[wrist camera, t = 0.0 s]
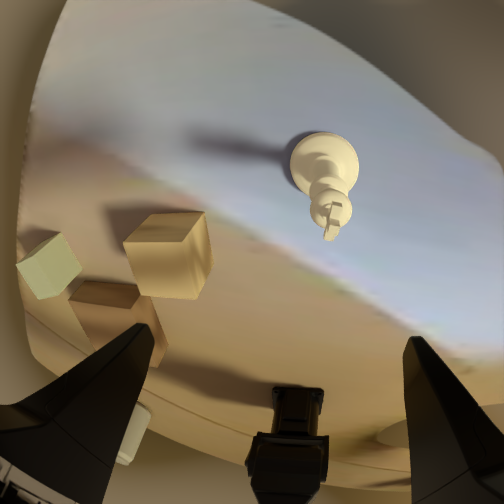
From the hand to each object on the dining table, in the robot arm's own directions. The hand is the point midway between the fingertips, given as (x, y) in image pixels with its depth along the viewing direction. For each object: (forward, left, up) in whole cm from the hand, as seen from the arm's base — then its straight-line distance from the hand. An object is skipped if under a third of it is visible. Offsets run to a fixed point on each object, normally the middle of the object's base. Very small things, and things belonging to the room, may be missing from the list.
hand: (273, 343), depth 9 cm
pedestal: (-14, +20, -15) cm, 29 cm away
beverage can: (-39, +29, -15) cm, 51 cm away
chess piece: (+2, -2, -15) cm, 15 cm away
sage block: (-6, +27, -15) cm, 31 cm away
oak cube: (-4, +10, -15) cm, 18 cm away
